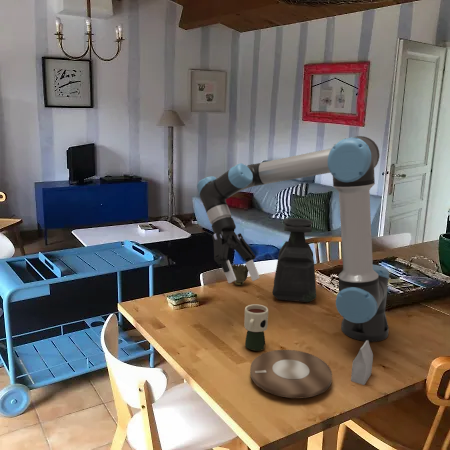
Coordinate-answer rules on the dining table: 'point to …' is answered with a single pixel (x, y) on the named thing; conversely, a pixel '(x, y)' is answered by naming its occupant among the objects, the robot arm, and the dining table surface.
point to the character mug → (255, 326)
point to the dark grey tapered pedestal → (295, 264)
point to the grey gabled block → (362, 365)
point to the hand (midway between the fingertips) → (244, 280)
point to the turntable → (291, 373)
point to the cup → (240, 273)
